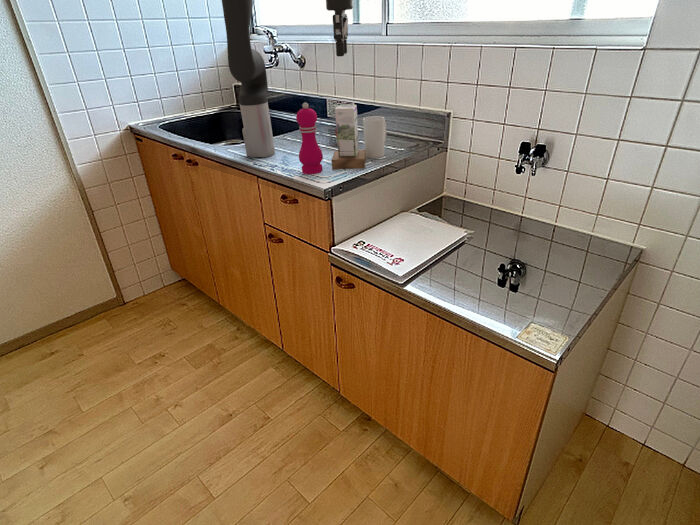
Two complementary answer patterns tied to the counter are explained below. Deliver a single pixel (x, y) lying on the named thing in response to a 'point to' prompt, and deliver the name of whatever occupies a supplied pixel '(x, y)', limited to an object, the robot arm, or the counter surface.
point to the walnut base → (349, 161)
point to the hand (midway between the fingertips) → (342, 55)
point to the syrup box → (347, 130)
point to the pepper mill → (309, 141)
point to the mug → (374, 136)
